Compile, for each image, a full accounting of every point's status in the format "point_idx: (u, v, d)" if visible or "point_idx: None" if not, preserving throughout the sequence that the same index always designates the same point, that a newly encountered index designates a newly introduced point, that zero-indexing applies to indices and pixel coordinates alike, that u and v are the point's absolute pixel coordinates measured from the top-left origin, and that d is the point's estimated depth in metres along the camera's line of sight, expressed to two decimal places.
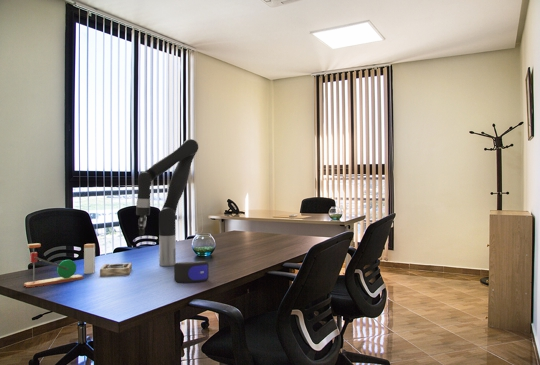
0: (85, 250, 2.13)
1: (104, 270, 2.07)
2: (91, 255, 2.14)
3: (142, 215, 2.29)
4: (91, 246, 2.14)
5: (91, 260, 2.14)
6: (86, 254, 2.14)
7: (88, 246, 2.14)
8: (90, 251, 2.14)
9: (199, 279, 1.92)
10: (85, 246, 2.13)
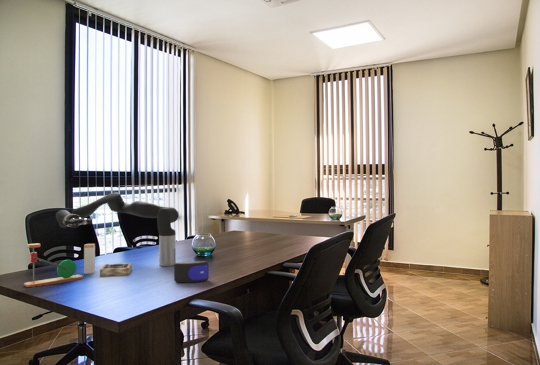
0: (85, 250, 2.13)
1: (104, 270, 2.07)
2: (91, 255, 2.14)
3: (68, 221, 2.30)
4: (91, 246, 2.14)
5: (91, 260, 2.14)
6: (86, 254, 2.14)
7: (88, 246, 2.14)
8: (90, 251, 2.14)
9: (199, 279, 1.92)
10: (85, 246, 2.13)
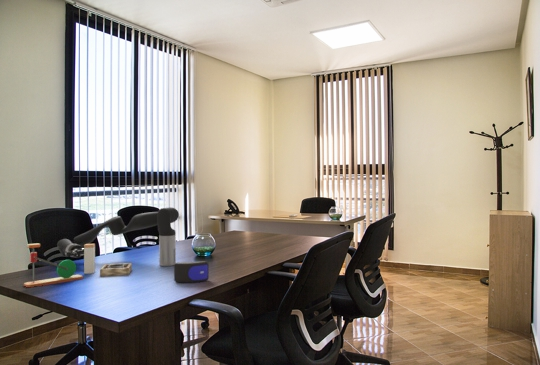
0: (85, 250, 2.13)
1: (104, 270, 2.07)
2: (91, 255, 2.14)
3: (70, 252, 2.27)
4: (91, 246, 2.14)
5: (91, 260, 2.14)
6: (86, 254, 2.14)
7: (88, 246, 2.14)
8: (90, 251, 2.14)
9: (199, 279, 1.92)
10: (85, 246, 2.13)
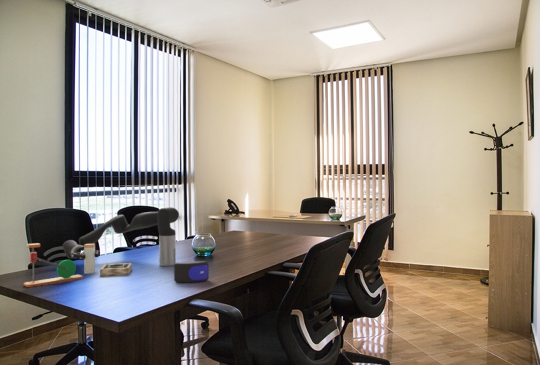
0: (85, 250, 2.13)
1: (104, 270, 2.07)
2: (91, 255, 2.14)
3: None
4: (91, 246, 2.14)
5: (91, 260, 2.14)
6: (86, 254, 2.14)
7: (88, 246, 2.14)
8: (90, 251, 2.14)
9: (199, 279, 1.92)
10: (85, 246, 2.13)
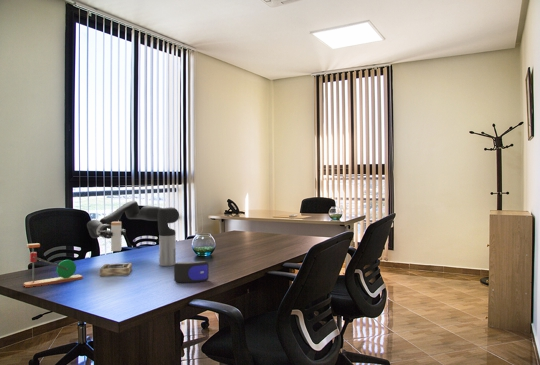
0: (112, 228, 2.13)
1: (104, 270, 2.07)
2: (118, 233, 2.13)
3: None
4: (118, 224, 2.13)
5: (118, 238, 2.13)
6: (113, 232, 2.13)
7: (115, 224, 2.13)
8: (117, 228, 2.13)
9: (199, 279, 1.92)
10: (112, 224, 2.13)
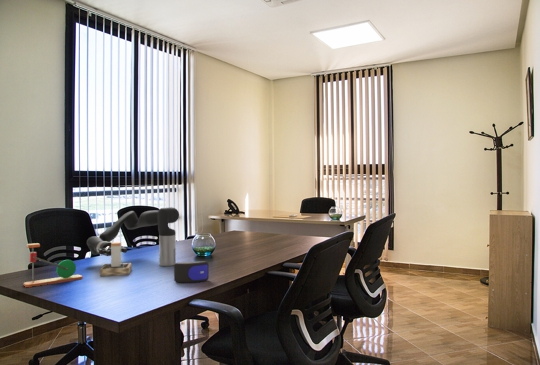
0: (112, 248, 2.13)
1: (104, 270, 2.07)
2: (118, 253, 2.13)
3: (102, 249, 2.20)
4: (118, 244, 2.13)
5: (118, 259, 2.13)
6: (113, 252, 2.13)
7: (115, 244, 2.13)
8: (117, 249, 2.13)
9: (199, 279, 1.92)
10: (112, 244, 2.13)
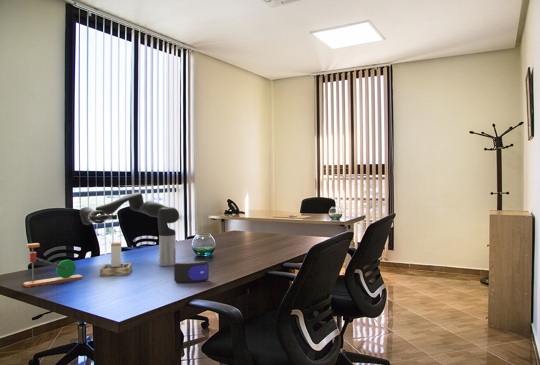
0: (112, 248, 2.13)
1: (104, 270, 2.07)
2: (118, 253, 2.13)
3: None
4: (118, 244, 2.13)
5: (118, 259, 2.13)
6: (113, 252, 2.13)
7: (115, 244, 2.13)
8: (117, 249, 2.13)
9: (199, 279, 1.92)
10: (112, 244, 2.13)
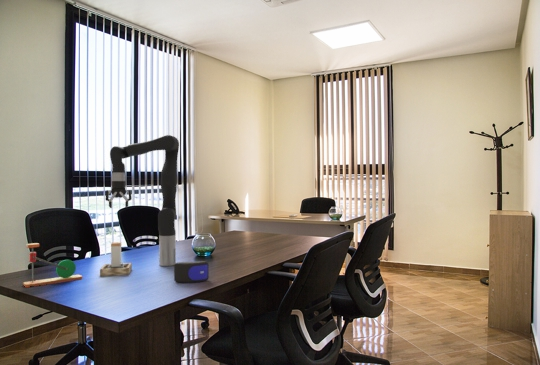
0: (112, 248, 2.13)
1: (104, 270, 2.07)
2: (118, 253, 2.13)
3: None
4: (118, 244, 2.13)
5: (118, 259, 2.13)
6: (113, 252, 2.13)
7: (115, 244, 2.13)
8: (117, 249, 2.13)
9: (199, 279, 1.92)
10: (112, 244, 2.13)
